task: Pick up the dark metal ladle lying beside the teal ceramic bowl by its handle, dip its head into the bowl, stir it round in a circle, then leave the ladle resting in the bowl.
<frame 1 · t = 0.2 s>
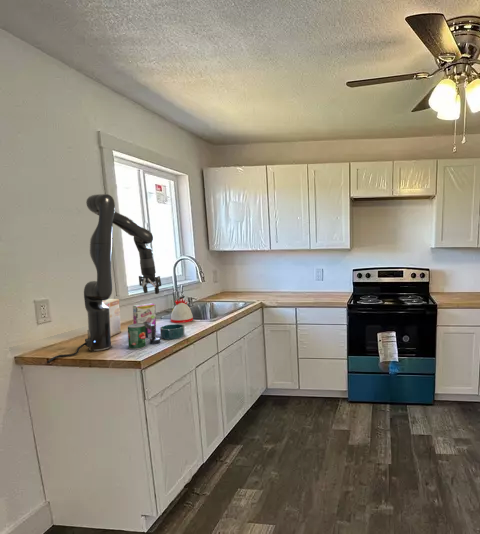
hand: (151, 293, 202), 22 cm above the worktop, tool pointing down, fingers open, 8 cm apart
bowl: (172, 336, 191), on the worktop
coffeecake box: (107, 335, 194), on the worktop
ladle: (154, 342, 179), on the worktop
canned tomato: (137, 347, 172), on the worktop
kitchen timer: (181, 320, 229), on the worktop
candy bar box: (145, 333, 198), on the worktop
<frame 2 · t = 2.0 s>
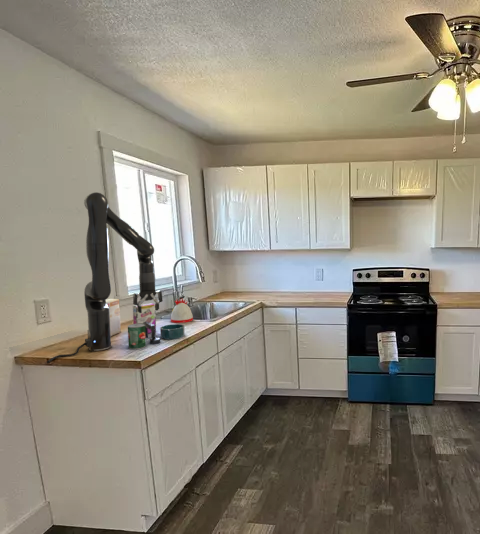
hand: (148, 311, 184), 15 cm above the worktop, tool pointing down, fingers open, 8 cm apart
nothing on the worktop moved.
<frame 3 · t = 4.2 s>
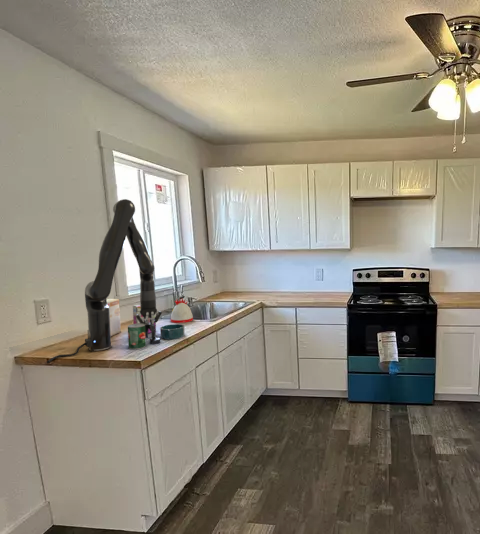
hand: (149, 331, 184), 5 cm above the worktop, tool pointing down, fingers closed on ladle
ladle: (155, 342, 179), on the worktop, touching gripper
everything else where it was.
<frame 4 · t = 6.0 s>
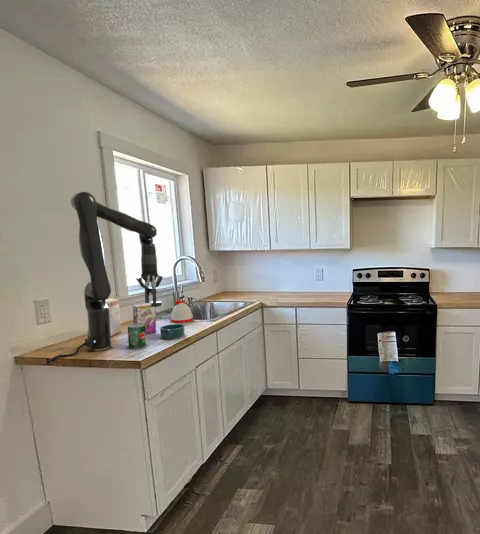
hand: (150, 295, 184), 24 cm above the worktop, tool pointing down, fingers closed on ladle
ladle: (156, 305, 179), point 19 cm above the worktop, touching gripper
everything else where it was.
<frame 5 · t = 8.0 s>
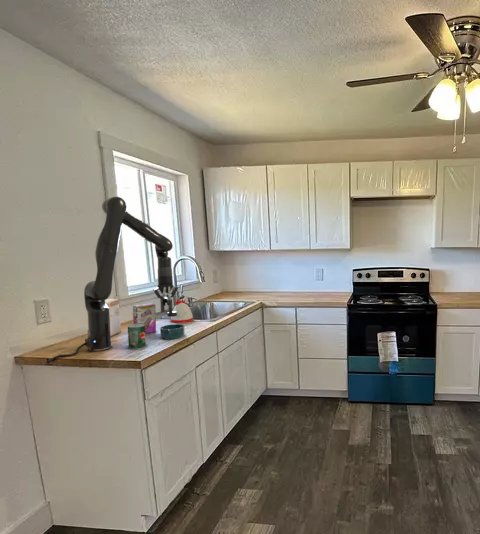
hand: (166, 305, 195), 16 cm above the worktop, tool pointing down, fingers closed on ladle
ladle: (172, 315, 190), point 12 cm above the worktop, touching gripper
everything else where it was.
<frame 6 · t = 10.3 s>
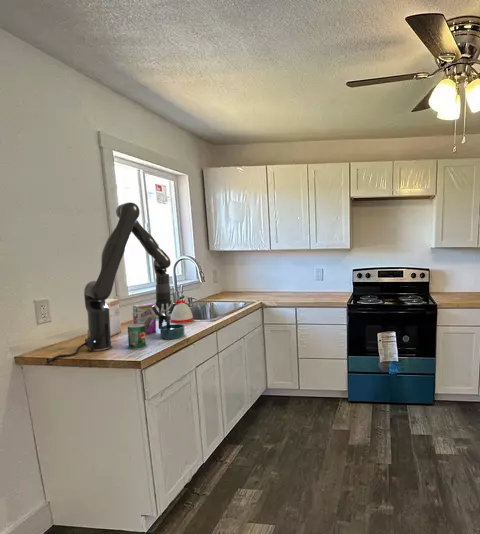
hand: (164, 321, 195), 7 cm above the worktop, tool pointing down, fingers closed on ladle
ladle: (169, 332, 190), point 2 cm above the worktop, touching gripper
everything else where it was.
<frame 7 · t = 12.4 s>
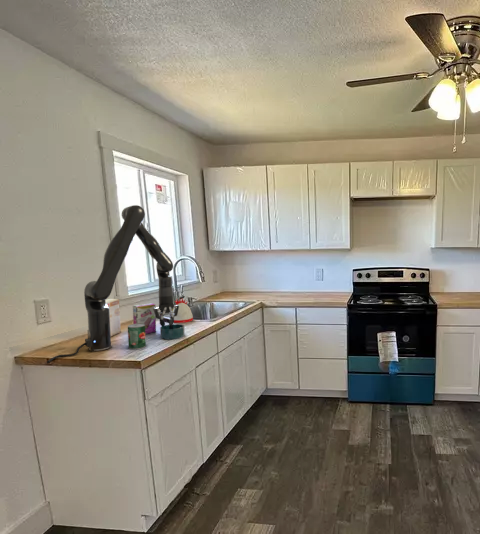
hand: (167, 324, 196), 5 cm above the worktop, tool pointing down, fingers open, 5 cm apart
ladle: (172, 335, 191), point 1 cm above the worktop, touching bowl
everything else where it was.
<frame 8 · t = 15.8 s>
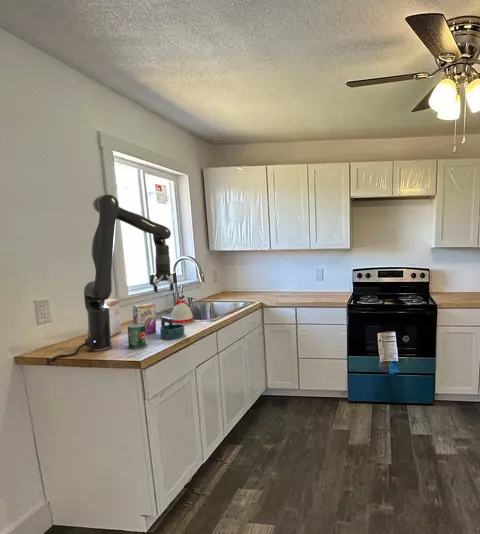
hand: (163, 291, 195), 24 cm above the worktop, tool pointing down, fingers open, 8 cm apart
nothing on the worktop moved.
at the end: ladle 0.1 cm off-centre in the bowl, point 0.7 cm above the bowl's base; ladle moved 12.7 cm from its start; the gripper is holding nothing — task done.
